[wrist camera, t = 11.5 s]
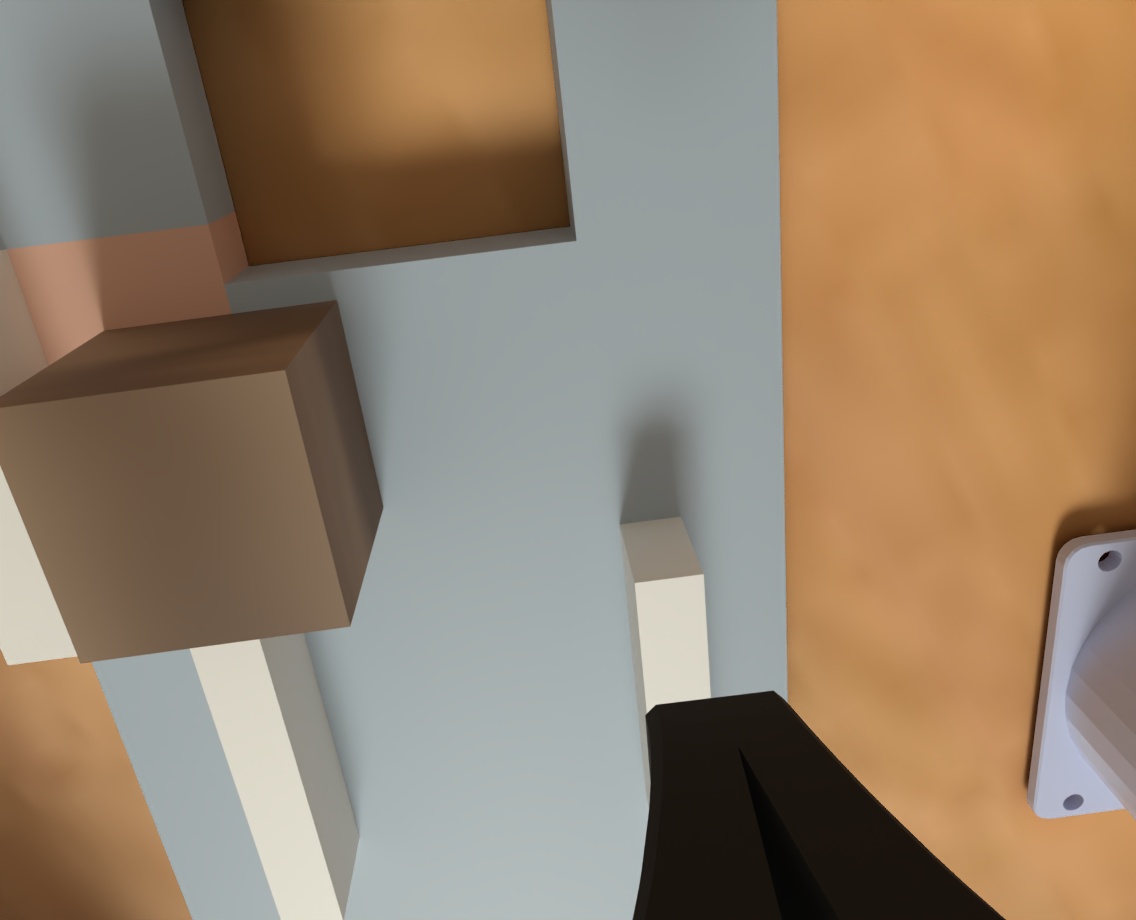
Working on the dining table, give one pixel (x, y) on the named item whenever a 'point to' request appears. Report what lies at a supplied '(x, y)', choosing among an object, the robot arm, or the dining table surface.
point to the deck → (442, 467)
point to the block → (197, 481)
